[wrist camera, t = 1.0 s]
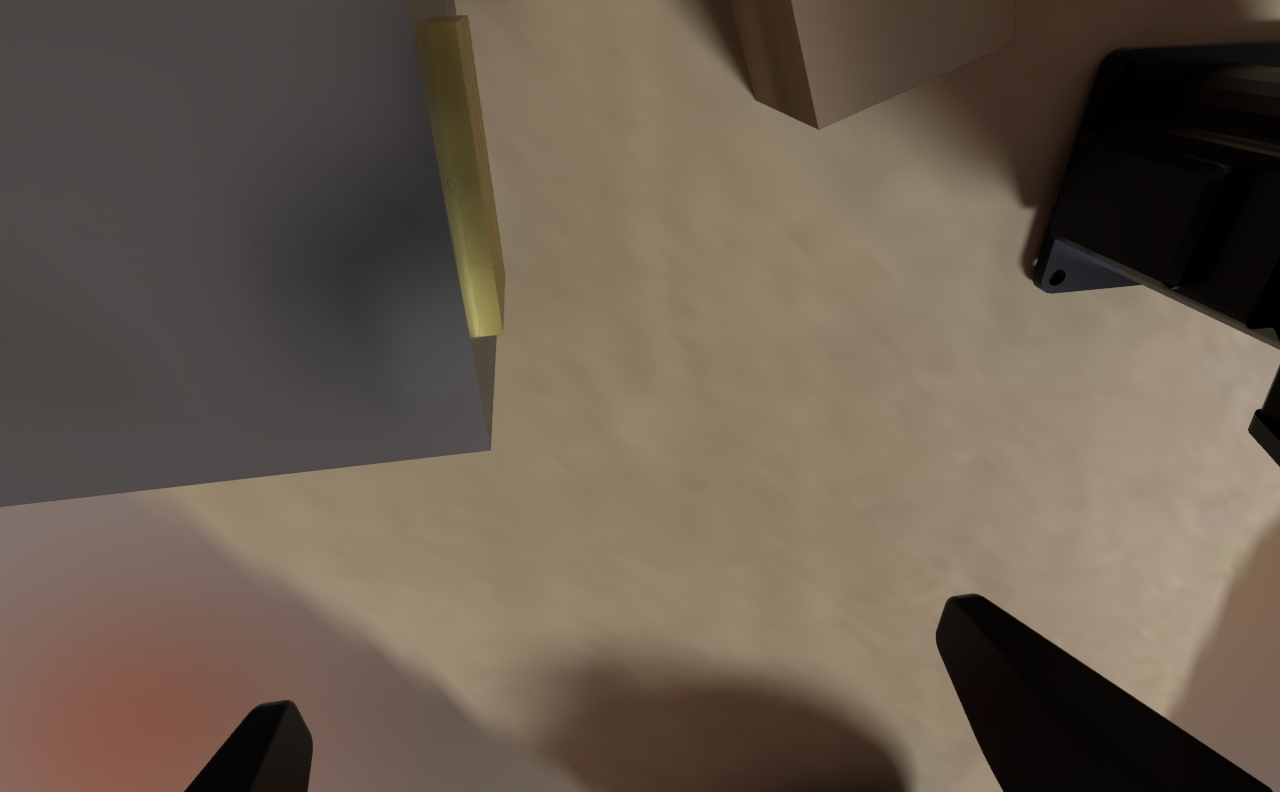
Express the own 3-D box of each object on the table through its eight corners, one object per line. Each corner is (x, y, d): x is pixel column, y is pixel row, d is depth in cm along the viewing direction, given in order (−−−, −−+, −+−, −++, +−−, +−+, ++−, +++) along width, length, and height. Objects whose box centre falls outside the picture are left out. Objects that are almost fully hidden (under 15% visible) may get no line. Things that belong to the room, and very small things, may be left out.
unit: (459, -101, 13) (413, -174, 7) (514, 292, 17) (514, 447, 12) (-135, -94, 12) (-795, -176, 6) (90, 329, 16) (-153, 525, 10)
